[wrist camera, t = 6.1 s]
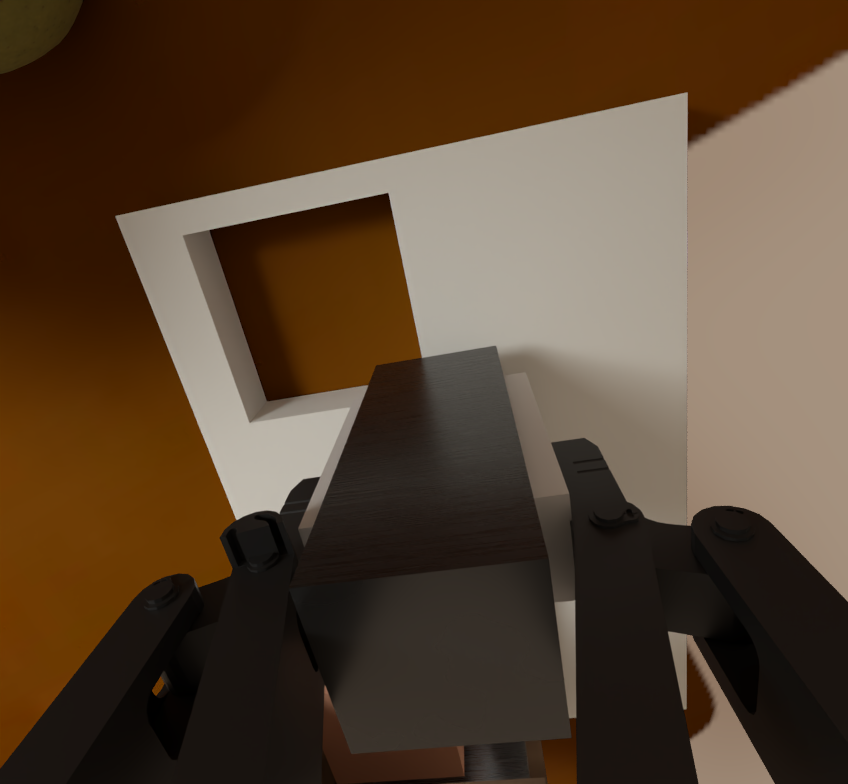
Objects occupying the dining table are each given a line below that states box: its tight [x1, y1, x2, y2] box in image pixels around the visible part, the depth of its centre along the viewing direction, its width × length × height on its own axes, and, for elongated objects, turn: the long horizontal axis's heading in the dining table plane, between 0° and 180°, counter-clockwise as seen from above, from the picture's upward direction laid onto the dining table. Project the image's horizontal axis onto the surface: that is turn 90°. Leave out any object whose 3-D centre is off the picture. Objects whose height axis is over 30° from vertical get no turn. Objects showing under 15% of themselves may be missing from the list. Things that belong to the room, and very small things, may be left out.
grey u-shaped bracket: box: [288, 346, 572, 784], centre depth 16 cm, size 18×8×10 cm, turn 11°
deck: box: [115, 92, 688, 718], centre depth 22 cm, size 26×18×2 cm
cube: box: [322, 686, 465, 784], centre depth 21 cm, size 5×5×5 cm
